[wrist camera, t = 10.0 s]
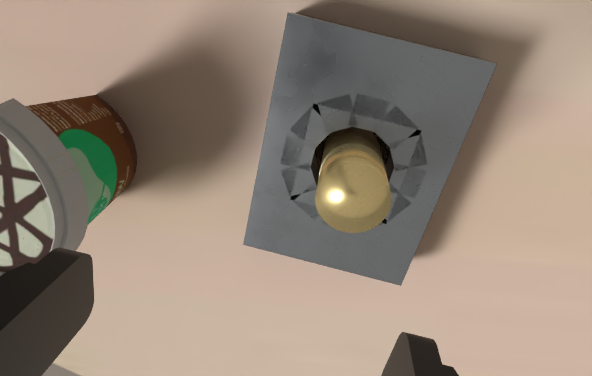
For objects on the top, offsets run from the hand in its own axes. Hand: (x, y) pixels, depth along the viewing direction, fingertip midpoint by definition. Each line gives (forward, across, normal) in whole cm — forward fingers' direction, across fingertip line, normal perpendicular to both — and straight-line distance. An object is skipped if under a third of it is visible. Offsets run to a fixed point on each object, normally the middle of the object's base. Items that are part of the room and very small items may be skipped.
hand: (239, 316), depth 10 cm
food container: (+19, +14, +7) cm, 25 cm away
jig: (+19, -4, +1) cm, 19 cm away
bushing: (+19, -4, +1) cm, 19 cm away
